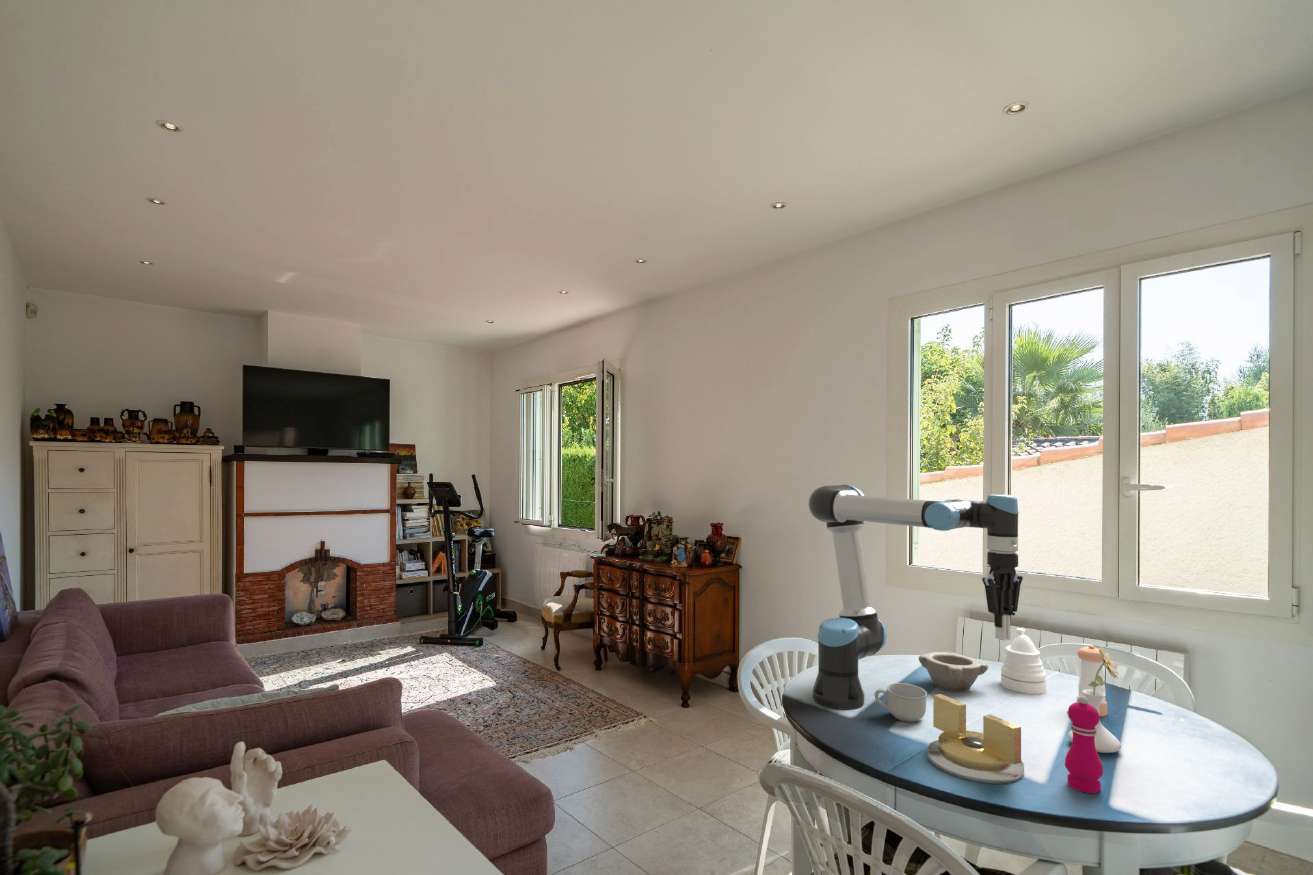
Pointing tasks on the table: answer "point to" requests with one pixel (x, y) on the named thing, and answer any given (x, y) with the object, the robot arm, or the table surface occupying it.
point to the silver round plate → (974, 769)
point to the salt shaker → (1091, 674)
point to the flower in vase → (1104, 738)
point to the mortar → (952, 670)
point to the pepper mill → (1083, 748)
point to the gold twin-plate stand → (975, 737)
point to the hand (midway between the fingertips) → (1002, 638)
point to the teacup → (904, 701)
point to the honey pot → (1023, 667)
